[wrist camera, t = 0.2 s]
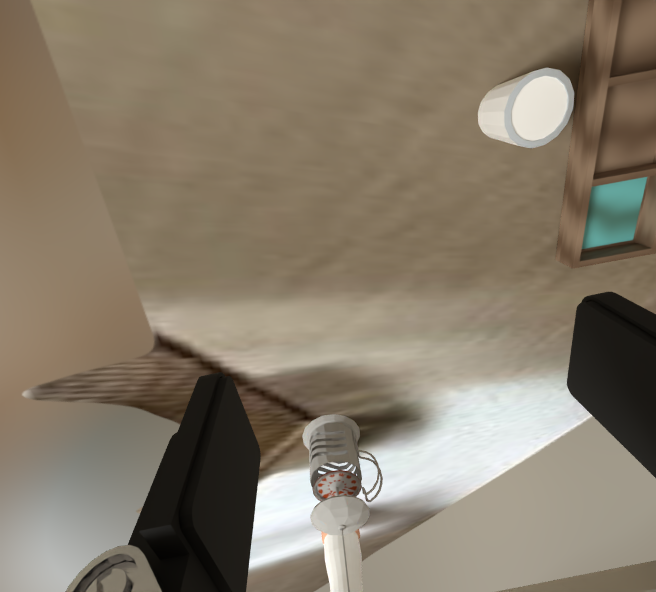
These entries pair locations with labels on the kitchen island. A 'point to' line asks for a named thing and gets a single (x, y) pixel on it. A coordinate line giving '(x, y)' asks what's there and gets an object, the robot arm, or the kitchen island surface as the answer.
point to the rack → (612, 139)
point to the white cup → (528, 108)
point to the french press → (337, 476)
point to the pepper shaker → (343, 561)
